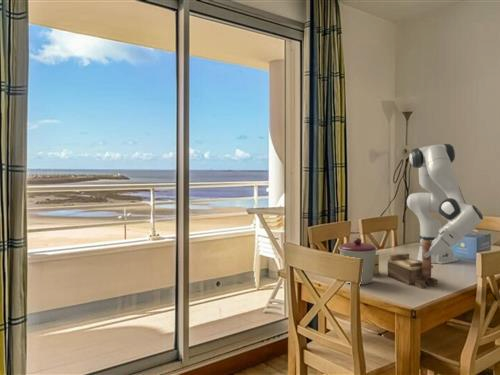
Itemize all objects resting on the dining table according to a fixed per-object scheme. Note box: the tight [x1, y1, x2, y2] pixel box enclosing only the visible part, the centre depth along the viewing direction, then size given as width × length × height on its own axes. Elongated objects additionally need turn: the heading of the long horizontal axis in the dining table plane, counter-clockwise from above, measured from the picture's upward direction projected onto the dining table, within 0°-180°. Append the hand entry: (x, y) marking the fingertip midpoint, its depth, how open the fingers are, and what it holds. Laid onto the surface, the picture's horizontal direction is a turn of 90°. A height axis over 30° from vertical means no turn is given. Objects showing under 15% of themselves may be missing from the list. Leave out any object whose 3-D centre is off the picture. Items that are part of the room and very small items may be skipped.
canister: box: [337, 237, 378, 286], centre depth 195 cm, size 18×18×21 cm
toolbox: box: [387, 261, 439, 289], centre depth 196 cm, size 12×22×7 cm, turn 18°
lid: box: [387, 252, 434, 270], centre depth 197 cm, size 12×18×4 cm
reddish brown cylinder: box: [421, 240, 432, 278], centre depth 187 cm, size 4×4×16 cm
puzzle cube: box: [373, 253, 380, 276], centre depth 211 cm, size 10×10×10 cm
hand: (425, 255), depth 187 cm, fingers closed on reddish brown cylinder, 4 cm apart
